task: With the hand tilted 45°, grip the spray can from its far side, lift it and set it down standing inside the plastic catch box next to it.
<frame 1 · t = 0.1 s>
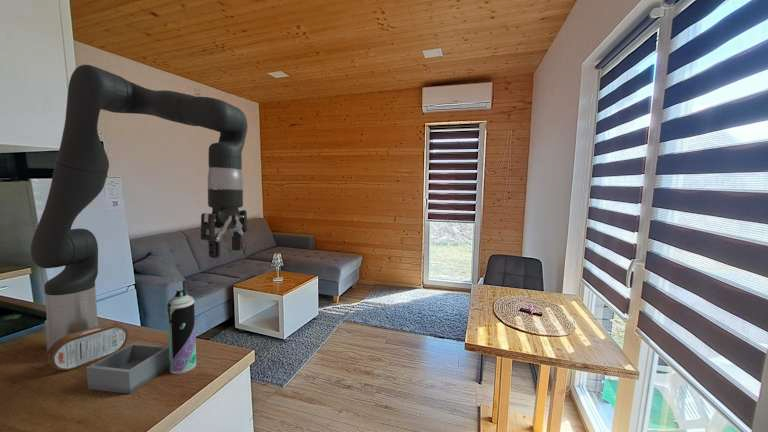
hand: (226, 253, 72), 29 cm above the counter, tool pointing down, fingers open, 8 cm apart
spray can: (183, 368, 74), on the counter
tin: (92, 361, 76), on the counter
catch box: (132, 376, 70), on the counter
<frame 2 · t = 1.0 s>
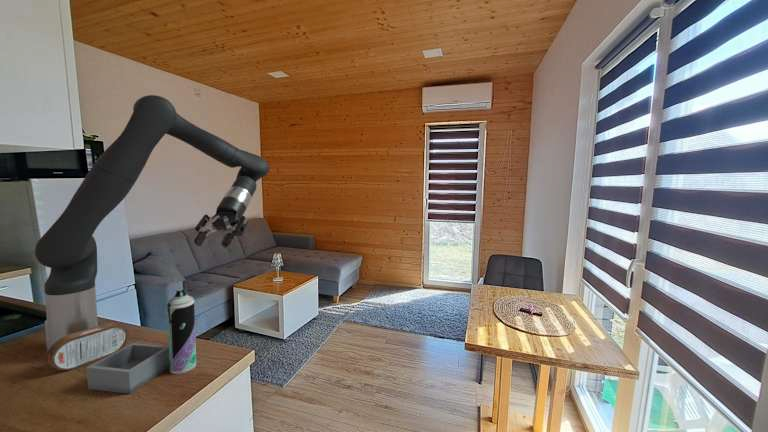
hand: (210, 245, 84), 29 cm above the counter, tool tilted 45°, fingers open, 8 cm apart
nothing on the counter moved.
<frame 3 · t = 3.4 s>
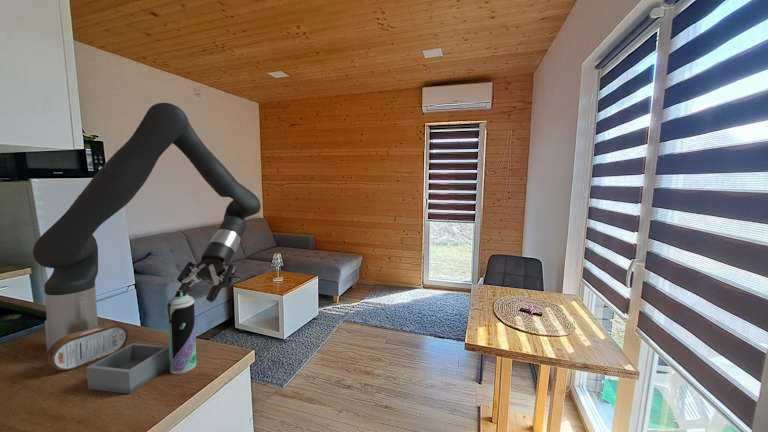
hand: (194, 299, 77), 16 cm above the counter, tool tilted 45°, fingers open, 8 cm apart
nothing on the counter moved.
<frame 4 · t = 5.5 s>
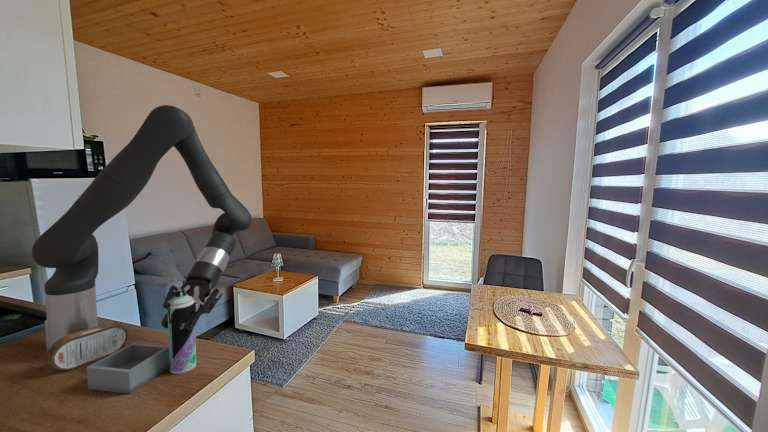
hand: (176, 327, 71), 11 cm above the counter, tool tilted 45°, fingers closed on spray can, 5 cm apart
spray can: (183, 368, 74), on the counter, touching gripper
everything else where it was.
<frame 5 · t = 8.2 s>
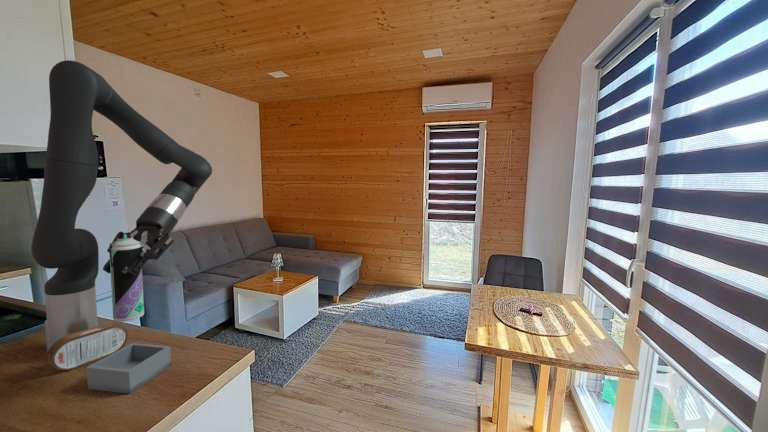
hand: (119, 272, 66), 26 cm above the counter, tool tilted 45°, fingers closed on spray can, 5 cm apart
spray can: (129, 317, 69), point 14 cm above the counter, touching gripper
everything else where it was.
when the fingers open (14 cm above the counter, at t = 10.9 s): spray can drops 1 cm, resting on catch box.
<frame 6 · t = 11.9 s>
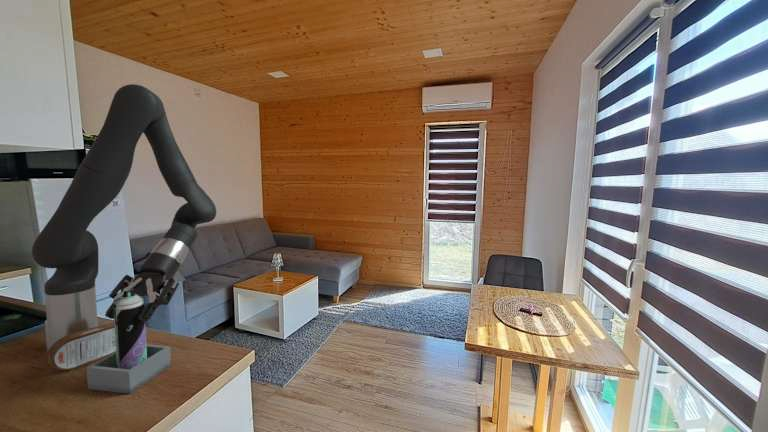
hand: (125, 319, 68), 15 cm above the counter, tool tilted 45°, fingers open, 8 cm apart
spray can: (133, 372, 70), point 1 cm above the counter, touching catch box
everything else where it was.
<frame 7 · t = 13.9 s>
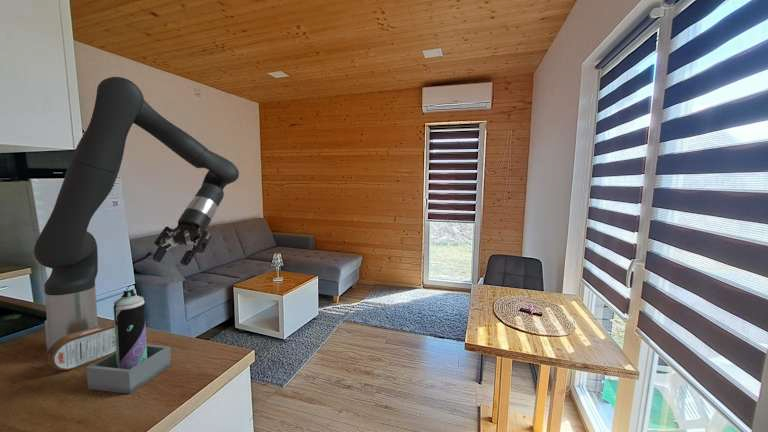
hand: (169, 262, 81), 24 cm above the counter, tool tilted 40°, fingers open, 8 cm apart
nothing on the counter moved.
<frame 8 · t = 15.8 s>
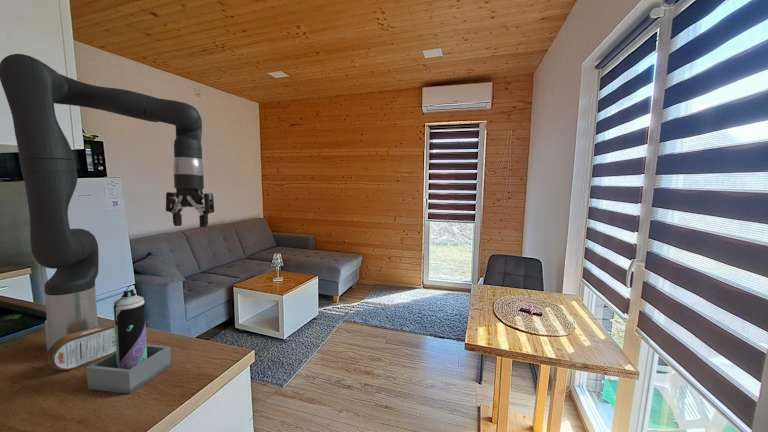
hand: (190, 226, 90), 33 cm above the counter, tool pointing down, fingers open, 8 cm apart
nothing on the counter moved.
at the end: spray can inside the target area on the catch box (0.3 cm from its centre), point 0.8 cm above the catch box's base; spray can tilted 0°; the gripper is holding nothing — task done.
